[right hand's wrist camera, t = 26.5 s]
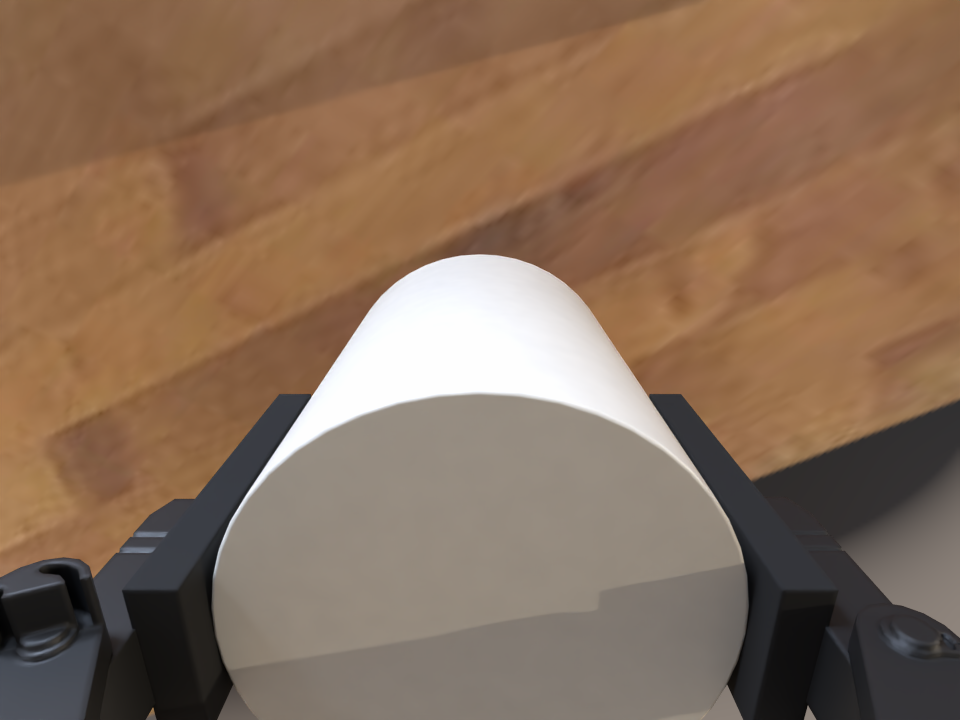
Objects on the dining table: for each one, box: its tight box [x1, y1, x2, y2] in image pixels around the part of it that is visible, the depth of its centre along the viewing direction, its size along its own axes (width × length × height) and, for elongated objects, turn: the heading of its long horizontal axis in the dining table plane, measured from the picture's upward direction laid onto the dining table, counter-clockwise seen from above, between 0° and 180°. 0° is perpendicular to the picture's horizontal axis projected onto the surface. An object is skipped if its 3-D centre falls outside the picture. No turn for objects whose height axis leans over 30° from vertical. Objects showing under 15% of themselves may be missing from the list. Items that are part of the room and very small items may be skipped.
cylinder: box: [211, 254, 749, 720], centre depth 13 cm, size 8×8×10 cm
